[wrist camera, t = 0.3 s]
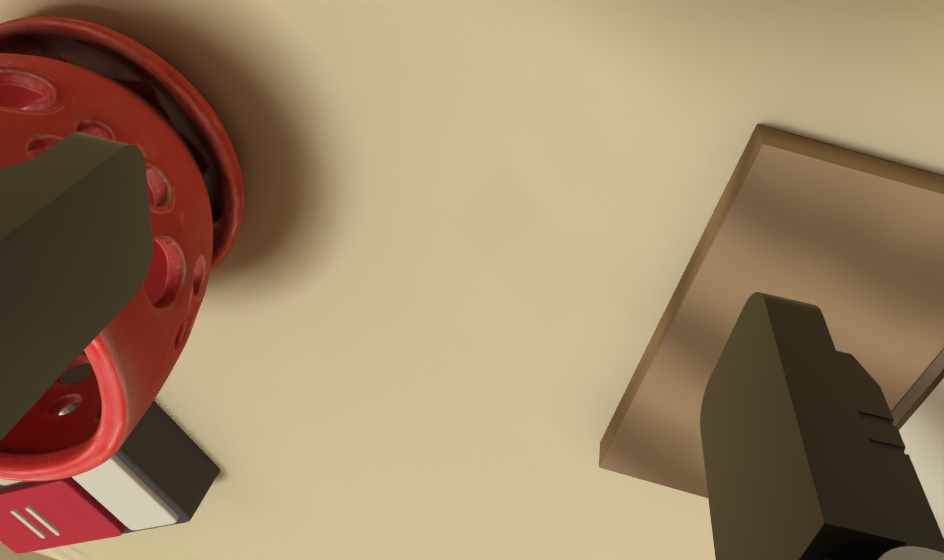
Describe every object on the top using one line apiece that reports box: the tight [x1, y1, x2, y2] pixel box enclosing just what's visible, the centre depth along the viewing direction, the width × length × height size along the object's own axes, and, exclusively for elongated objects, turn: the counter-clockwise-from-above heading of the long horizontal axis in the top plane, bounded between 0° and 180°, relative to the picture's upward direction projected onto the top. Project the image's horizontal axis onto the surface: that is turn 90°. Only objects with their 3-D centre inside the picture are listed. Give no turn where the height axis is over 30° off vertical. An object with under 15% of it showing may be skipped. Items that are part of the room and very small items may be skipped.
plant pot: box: [0, 16, 245, 481], centre depth 26 cm, size 13×13×12 cm
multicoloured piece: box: [0, 363, 219, 553], centre depth 42 cm, size 11×4×15 cm
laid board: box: [599, 125, 944, 498], centre depth 30 cm, size 17×10×2 cm, turn 168°
